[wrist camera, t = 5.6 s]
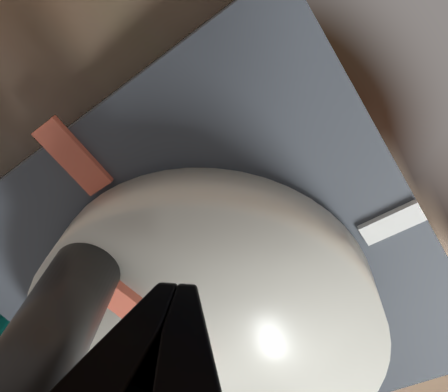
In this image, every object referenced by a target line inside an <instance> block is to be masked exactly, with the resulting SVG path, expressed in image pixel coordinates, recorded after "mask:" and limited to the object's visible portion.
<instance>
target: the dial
mask: <svg viewBox="0 0 448 392" xmlns="http://www.w3.org/2000/svg"><path fill="white" fill-rule="evenodd" d="M160 282H167V283H176V284H177V285H178V284H180V283H183V284H195V285H196V286H197V288H198V292H199V296H200V301H201V305H202V309H203V313H204V317H205V322H206V326H207V330H208V334H209V339H210V343H211V347H212V351H213V356H214V360H215V364H216V368H217V372H218V377H219V381H220V385H221V389H222V392H378V391H379V389H380V387H381V385H382V383H383V381H384V379H385V377H386V374H387V370H388V366H389V363H390V355H391V338H390V331H389V325H388V322H387V319H386V316H385V312H384V309H383V306H382V303H381V300H380V297H379V294H378V291H377V288H376V285H375V281H374V278H373V275H372V272H371V270H370V267H369V264H368V261H367V258H366V257H365V255H364V253H363V251H362V249H361V248H360V246H359V244H358V242H357V241H356V240H355V239H354V237H353V236H352V235H351V233H350V232H349V231H348V230H347V228H346V227H345V226H344V225H343V224H342V223H341V222H340V221H339V220H338V219H337V218H335V217H334V216H333V215H332V214H331V213H330V212H329V211H328V210H326V209H325V208H323V207H322V206H321V205H319V204H318V203H316V202H315V201H314V200H312V199H311V198H309V197H307V196H305V195H303V194H302V193H300V192H298V191H296V190H294V189H292V188H290V187H288V186H286V185H283V184H280V183H278V182H275V181H273V180H270V179H267V178H265V177H261V176H257V175H253V174H249V173H245V172H241V171H234V170H226V169H219V168H180V169H171V170H163V171H159V172H154V173H150V174H146V175H141V176H139V177H136V178H133V179H131V180H128V181H125V182H123V183H120V184H118V185H117V186H115V187H113V188H111V189H109V190H107V191H106V192H104V193H102V194H101V195H99V196H98V197H97V198H95V199H94V200H93V201H92V202H90V203H89V204H88V205H86V206H85V207H84V208H83V210H82V211H81V212H80V213H79V214H78V215H77V216H76V217H75V218H74V219H73V221H72V222H71V223H70V225H69V226H68V228H67V229H66V230H65V232H64V233H63V235H62V236H61V238H60V239H59V240H58V242H57V243H56V245H55V246H54V247H53V249H52V250H51V252H50V253H49V254H48V256H47V257H46V259H45V260H44V262H43V263H42V265H41V266H40V268H39V269H38V271H37V272H36V274H35V276H34V278H33V280H32V283H31V285H30V288H29V291H28V295H27V298H26V299H25V301H24V302H23V304H22V305H21V307H20V308H19V310H18V311H17V312H16V314H15V315H14V317H13V318H12V320H11V321H10V323H9V324H8V326H7V327H6V329H5V330H4V331H3V333H2V334H1V336H0V392H49V391H50V390H51V389H52V388H53V387H54V386H55V385H56V384H57V383H58V382H59V381H60V380H61V379H62V378H63V377H64V376H65V375H66V374H67V373H68V372H69V371H70V370H71V369H72V368H73V367H74V366H75V365H76V364H77V363H78V362H79V361H80V360H81V359H82V358H83V357H84V356H85V355H86V354H87V353H88V352H89V351H90V350H91V349H92V348H93V347H94V346H95V345H96V344H97V343H98V342H99V341H100V340H101V339H102V338H103V337H104V336H105V335H106V334H107V333H108V332H109V331H110V330H111V329H112V328H113V327H114V326H115V325H116V324H117V323H118V322H119V321H120V320H121V319H122V318H123V317H124V316H125V315H126V314H127V313H128V312H129V311H130V310H131V309H132V308H133V307H134V306H135V305H136V304H137V303H138V302H139V301H140V300H141V299H142V298H143V297H144V296H145V295H146V294H147V293H148V292H149V291H150V290H151V289H152V288H153V287H154V286H155V285H157V284H158V283H160Z"/></svg>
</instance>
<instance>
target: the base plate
mask: <svg viewBox="0 0 448 392" xmlns="http://www.w3.org/2000/svg"><path fill="white" fill-rule="evenodd" d="M31 135H32V136H33V137H34V138H35V139H36V140H37V141H38V142H39V143H40V144H41V145H42V147H41V148H40V149H38V150H37V151H36V152H34V153H33V154H32V155H30V156H29V157H28V158H27V159H25V160H24V161H23V162H21V163H20V164H19V165H17V166H16V167H15V168H13V169H12V170H11V171H10V172H8V173H7V174H6V175H4V176H3V177H2V178H0V314H1V315H2V316H3V317H4V318H6V319H7V320H8V321H11V320H12V318H13V317H14V315H15V314H16V312H17V311H18V310H19V308H20V307H21V305H22V304H23V302H24V301H25V299H26V298H27V295H28V291H29V288H30V285H31V283H32V280H33V278H34V276H35V274H36V272H37V271H38V269H39V268H40V266H41V265H42V263H43V262H44V260H45V259H46V257H47V256H48V254H49V253H50V252H51V250H52V249H53V247H54V246H55V245H56V243H57V242H58V240H59V239H60V238H61V236H62V235H63V233H64V232H65V230H66V229H67V228H68V226H69V225H70V223H71V222H72V221H73V219H74V218H75V217H76V216H77V215H78V214H79V213H80V212H81V211H82V210H83V208H84V207H85V206H86V205H88V204H89V203H90V202H92V201H93V200H94V199H95V198H97V197H98V196H99V195H101V194H102V193H104V192H106V191H107V190H109V189H111V188H113V187H115V186H117V185H118V184H120V183H123V182H125V181H128V180H131V179H133V178H136V177H139V176H141V175H146V174H150V173H154V172H159V171H163V170H171V169H180V168H219V169H226V170H234V171H241V172H245V173H249V174H253V175H257V176H261V177H265V178H267V179H270V180H273V181H275V182H278V183H280V184H283V185H286V186H288V187H290V188H292V189H294V190H296V191H298V192H300V193H302V194H303V195H305V196H307V197H309V198H311V199H312V200H314V201H315V202H316V203H318V204H319V205H321V206H322V207H323V208H325V209H326V210H328V211H329V212H330V213H331V214H332V215H333V216H334V217H335V218H337V219H338V220H339V221H340V222H341V223H342V224H343V225H344V226H345V227H346V228H347V230H348V231H349V232H350V233H351V235H352V236H353V237H354V239H355V240H356V241H357V242H358V244H359V246H360V248H361V249H362V251H363V253H364V255H365V257H366V258H367V261H368V264H369V267H370V270H371V272H372V275H373V278H374V281H375V285H376V288H377V291H378V294H379V297H380V300H381V303H382V306H383V309H384V312H385V316H386V319H387V322H388V325H389V331H390V338H391V355H390V363H389V366H388V370H387V374H386V377H385V379H384V381H383V383H382V385H381V387H380V389H379V391H378V392H391V391H394V390H398V389H401V388H404V387H408V386H411V385H415V384H418V383H421V382H425V381H428V380H431V379H435V378H438V377H441V376H445V375H448V257H447V255H446V253H445V251H444V249H443V248H442V246H441V244H440V242H439V240H438V239H437V237H436V235H435V233H434V231H433V230H432V228H431V226H430V224H429V222H428V220H427V218H426V217H425V215H424V213H423V211H422V209H421V208H420V206H419V204H418V202H417V200H416V199H415V197H414V195H413V193H412V192H411V190H410V188H409V186H408V184H407V182H406V181H405V179H404V177H403V175H402V173H401V172H400V170H399V168H398V166H397V164H396V163H395V161H394V159H393V157H392V155H391V153H390V152H389V150H388V148H387V146H386V144H385V143H384V141H383V139H382V137H381V135H380V134H379V132H378V130H377V128H376V126H375V125H374V123H373V121H372V119H371V117H370V115H369V114H368V112H367V110H366V108H365V106H364V105H363V103H362V101H361V99H360V97H359V96H358V94H357V92H356V90H355V88H354V87H353V85H352V83H351V81H350V79H349V77H348V76H347V74H346V72H345V70H344V68H343V67H342V65H341V63H340V61H339V59H338V58H337V56H336V54H335V52H334V50H333V48H332V47H331V45H330V43H329V41H328V39H327V38H326V36H325V34H324V32H323V30H322V29H321V27H320V25H319V23H318V21H317V20H316V18H315V16H314V14H313V12H312V10H311V9H310V7H309V5H308V3H307V1H306V0H234V1H232V2H231V3H230V4H229V5H227V6H226V7H225V8H223V9H222V10H221V11H219V12H218V13H217V14H215V15H214V16H213V17H211V18H210V19H209V20H208V21H206V22H205V23H204V24H202V25H201V26H200V27H198V28H197V29H196V30H194V31H193V32H192V33H190V34H189V35H188V36H187V37H185V38H184V39H183V40H181V41H180V42H179V43H177V44H176V45H175V46H173V47H172V48H171V49H169V50H168V51H167V52H166V53H164V54H163V55H162V56H160V57H159V58H158V59H156V60H155V61H154V62H152V63H151V64H150V65H149V66H147V67H146V68H145V69H143V70H142V71H141V72H139V73H138V74H137V75H135V76H134V77H133V78H131V79H130V80H129V81H128V82H126V83H125V84H124V85H122V86H121V87H120V88H118V89H117V90H116V91H114V92H113V93H112V94H110V95H109V96H108V97H107V98H105V99H104V100H103V101H101V102H100V103H99V104H97V105H96V106H95V107H93V108H92V109H91V110H89V111H88V112H87V113H86V114H84V115H83V116H82V117H80V118H79V119H78V120H76V121H75V122H74V123H72V124H71V125H70V126H69V127H66V126H65V125H64V124H63V123H62V122H61V121H60V119H59V118H58V117H57V116H56V115H54V116H53V117H52V118H50V119H49V120H48V121H47V122H45V123H44V124H43V125H41V126H40V127H39V128H38V129H36V130H35V131H34V132H33V133H31Z"/></svg>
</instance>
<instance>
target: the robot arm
mask: <svg viewBox="0 0 448 392" xmlns="http://www.w3.org/2000/svg"><path fill="white" fill-rule="evenodd" d="M49 392H222V389H221V385H220V381H219V377H218V372H217V368H216V364H215V360H214V356H213V351H212V347H211V343H210V339H209V334H208V330H207V326H206V322H205V317H204V313H203V309H202V305H201V301H200V296H199V292H198V288H197V286H196V285H195V284H183V283H180V284H178V285H177V284H176V283H167V282H160V283H158V284H157V285H155V286H154V287H153V288H152V289H151V290H150V291H149V292H148V293H147V294H146V295H145V296H144V297H143V298H142V299H141V300H140V301H139V302H138V303H137V304H136V305H135V306H134V307H133V308H132V309H131V310H130V311H129V312H128V313H127V314H126V315H125V316H124V317H123V318H122V319H121V320H120V321H119V322H118V323H117V324H116V325H115V326H114V327H113V328H112V329H111V330H110V331H109V332H108V333H107V334H106V335H105V336H104V337H103V338H102V339H101V340H100V341H99V342H98V343H97V344H96V345H95V346H94V347H93V348H92V349H91V350H90V351H89V352H88V353H87V354H86V355H85V356H84V357H83V358H82V359H81V360H80V361H79V362H78V363H77V364H76V365H75V366H74V367H73V368H72V369H71V370H70V371H69V372H68V373H67V374H66V375H65V376H64V377H63V378H62V379H61V380H60V381H59V382H58V383H57V384H56V385H55V386H54V387H53V388H52V389H51V390H50V391H49Z"/></svg>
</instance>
